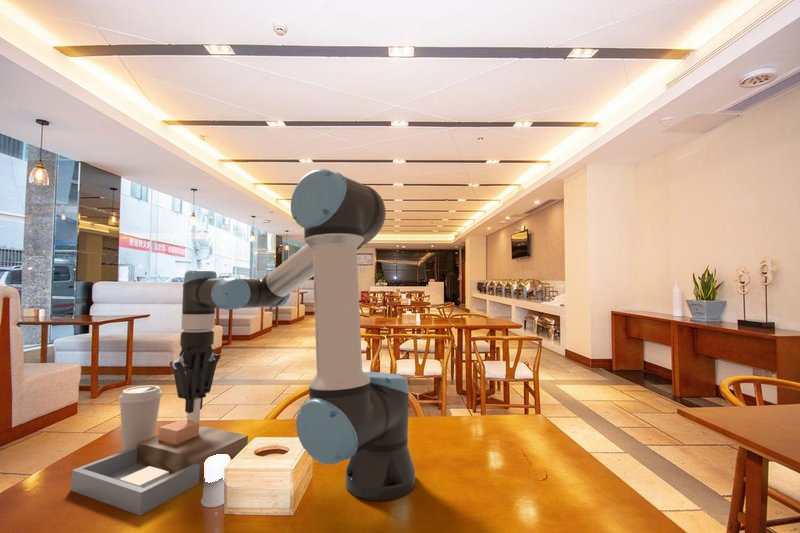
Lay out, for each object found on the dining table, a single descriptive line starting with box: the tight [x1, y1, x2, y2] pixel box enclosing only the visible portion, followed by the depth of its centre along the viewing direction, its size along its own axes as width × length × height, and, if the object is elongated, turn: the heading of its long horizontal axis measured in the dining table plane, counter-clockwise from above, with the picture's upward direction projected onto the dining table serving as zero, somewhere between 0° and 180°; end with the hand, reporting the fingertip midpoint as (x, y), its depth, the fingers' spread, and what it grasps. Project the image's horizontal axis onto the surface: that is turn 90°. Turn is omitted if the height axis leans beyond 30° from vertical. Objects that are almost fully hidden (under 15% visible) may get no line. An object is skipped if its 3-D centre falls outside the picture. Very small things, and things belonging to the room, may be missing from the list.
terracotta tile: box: [158, 418, 200, 444], centre depth 90 cm, size 6×6×3 cm
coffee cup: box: [117, 384, 164, 452], centre depth 96 cm, size 10×10×15 cm
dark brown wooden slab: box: [137, 424, 249, 483], centre depth 89 cm, size 20×14×5 cm
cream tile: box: [119, 466, 169, 488], centre depth 75 cm, size 6×6×3 cm
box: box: [70, 447, 200, 516], centre depth 77 cm, size 21×12×4 cm, turn 68°
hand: (193, 424), depth 94 cm, fingers closed
